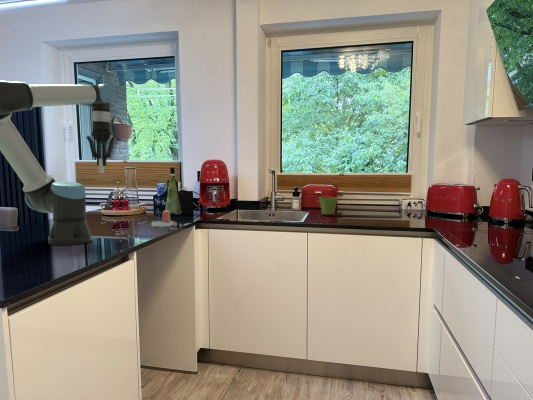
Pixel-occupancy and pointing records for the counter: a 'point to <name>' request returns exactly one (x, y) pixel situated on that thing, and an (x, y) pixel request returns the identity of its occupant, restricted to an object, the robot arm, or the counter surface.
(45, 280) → the counter surface
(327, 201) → the plant pot
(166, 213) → the block
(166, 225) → the console
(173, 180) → the pouch
